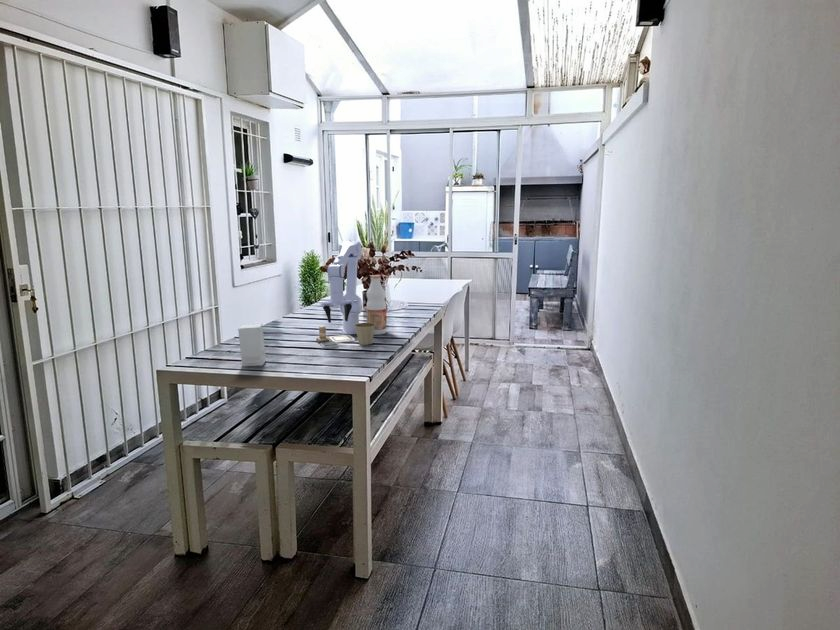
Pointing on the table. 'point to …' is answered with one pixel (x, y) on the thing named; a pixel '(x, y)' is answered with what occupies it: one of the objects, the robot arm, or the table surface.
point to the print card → (342, 338)
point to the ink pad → (329, 344)
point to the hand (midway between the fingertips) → (338, 321)
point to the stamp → (322, 335)
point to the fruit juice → (376, 305)
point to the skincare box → (252, 345)
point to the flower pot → (365, 333)
